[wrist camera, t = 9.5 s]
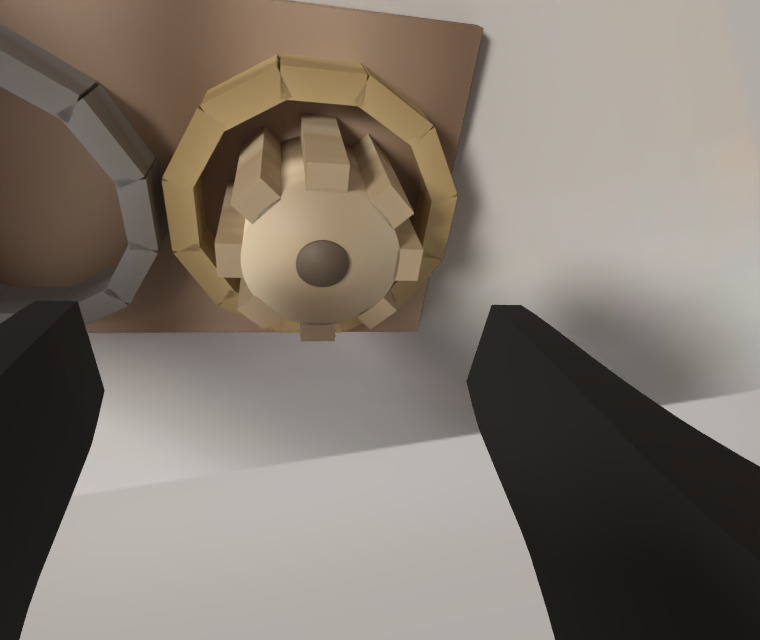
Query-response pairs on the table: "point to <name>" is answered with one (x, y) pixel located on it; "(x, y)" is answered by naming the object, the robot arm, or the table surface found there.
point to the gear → (316, 230)
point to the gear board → (158, 99)
